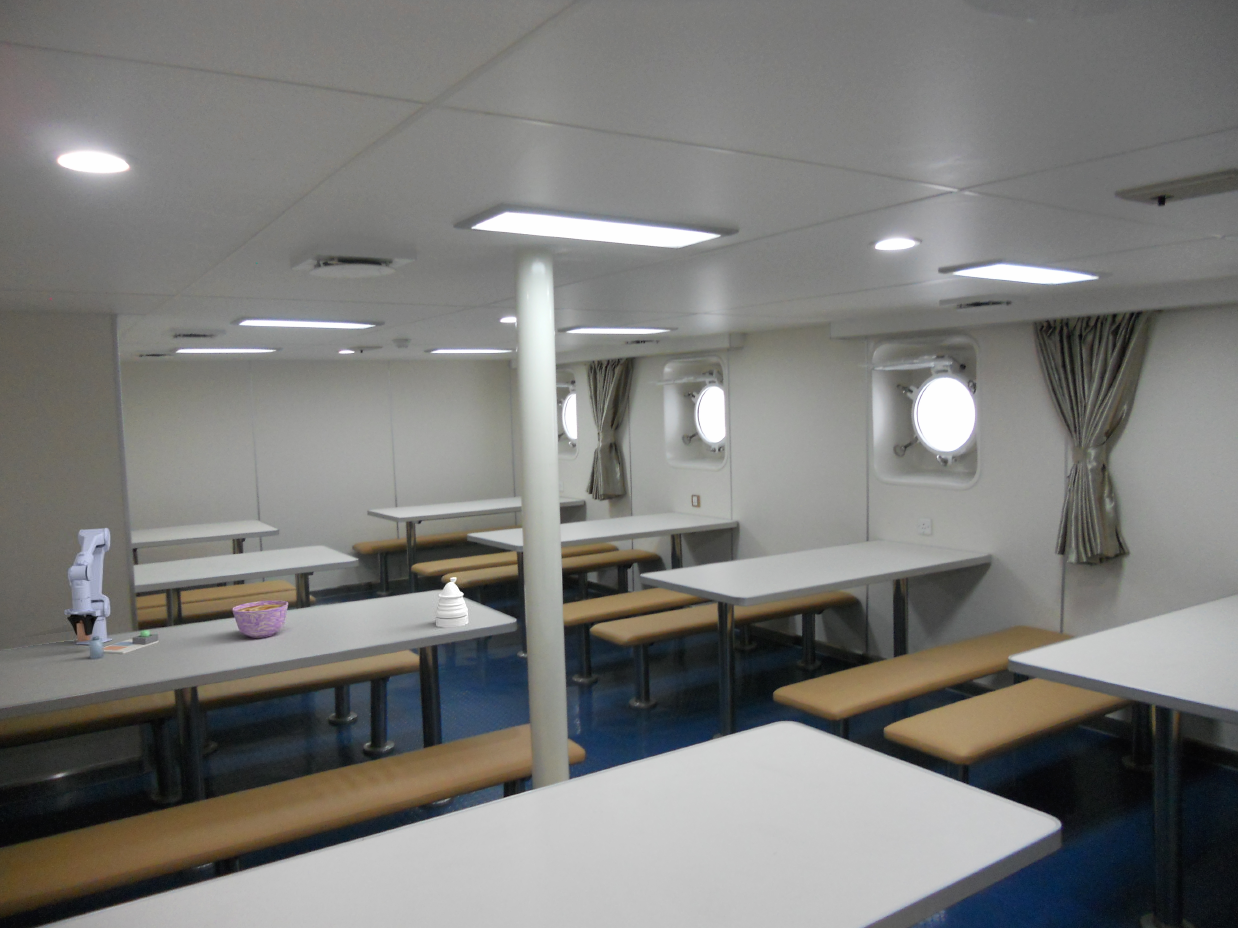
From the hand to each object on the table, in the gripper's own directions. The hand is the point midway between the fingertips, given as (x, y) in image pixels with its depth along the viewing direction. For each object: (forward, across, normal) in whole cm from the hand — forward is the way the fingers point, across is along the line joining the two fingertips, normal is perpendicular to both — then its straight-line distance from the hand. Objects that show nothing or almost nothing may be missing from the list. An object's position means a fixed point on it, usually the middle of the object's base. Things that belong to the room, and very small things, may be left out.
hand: (83, 634), depth 304 cm
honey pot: (+7, +118, +60) cm, 133 cm away
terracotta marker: (+2, 0, 0) cm, 2 cm away
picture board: (+7, +10, +9) cm, 15 cm away
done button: (+5, +14, +14) cm, 20 cm away
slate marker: (+7, +11, -5) cm, 14 cm away
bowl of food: (+7, +51, +32) cm, 61 cm away
